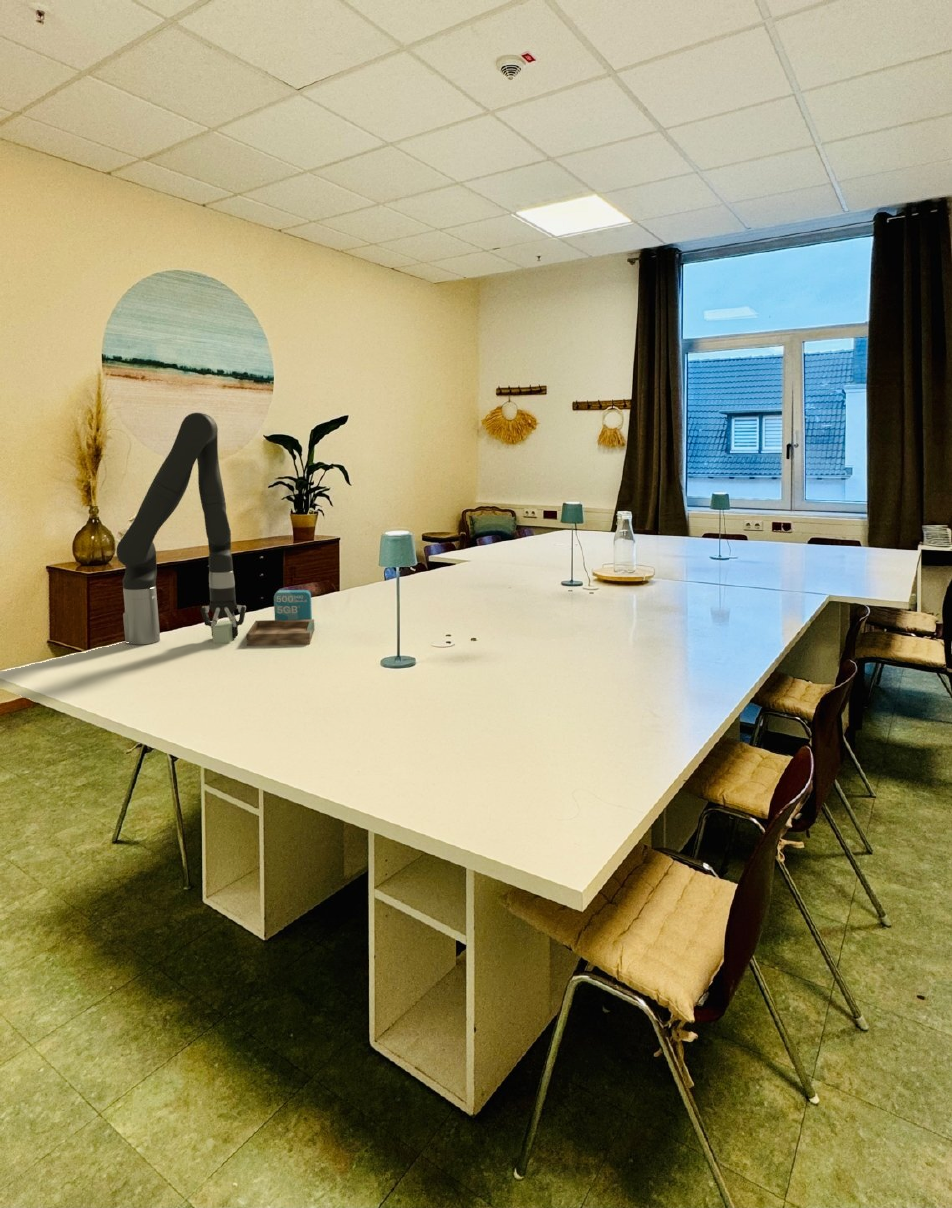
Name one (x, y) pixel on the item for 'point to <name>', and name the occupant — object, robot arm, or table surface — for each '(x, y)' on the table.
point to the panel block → (222, 632)
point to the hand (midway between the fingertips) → (225, 637)
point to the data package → (292, 605)
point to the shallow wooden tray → (280, 632)
